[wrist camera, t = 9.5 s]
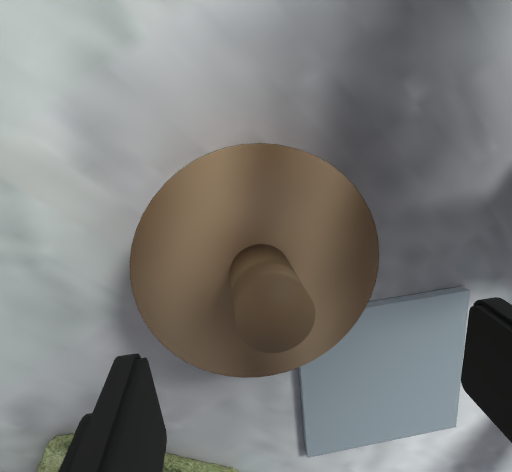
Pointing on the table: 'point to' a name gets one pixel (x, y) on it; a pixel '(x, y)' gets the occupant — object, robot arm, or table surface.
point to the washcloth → (174, 467)
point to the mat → (387, 374)
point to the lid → (254, 260)
